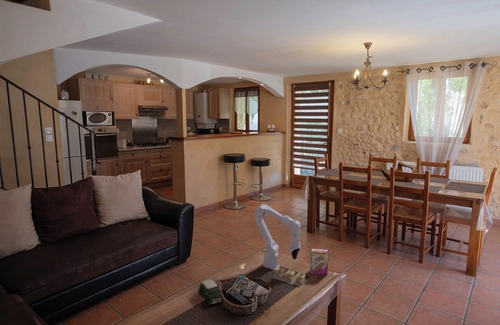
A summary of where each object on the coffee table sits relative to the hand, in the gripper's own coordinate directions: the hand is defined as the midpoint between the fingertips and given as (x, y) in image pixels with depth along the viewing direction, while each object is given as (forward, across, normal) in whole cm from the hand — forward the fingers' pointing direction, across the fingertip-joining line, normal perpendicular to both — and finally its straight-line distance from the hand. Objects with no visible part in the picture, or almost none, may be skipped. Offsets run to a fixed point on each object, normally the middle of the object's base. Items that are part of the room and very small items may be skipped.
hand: (294, 258), depth 208 cm
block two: (+8, -11, -9) cm, 17 cm away
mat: (+9, -11, -2) cm, 15 cm away
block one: (+8, -11, +5) cm, 15 cm away
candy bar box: (+9, +6, -15) cm, 19 cm away
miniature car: (+10, -53, +28) cm, 61 cm away
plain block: (+8, -11, -2) cm, 14 cm away
